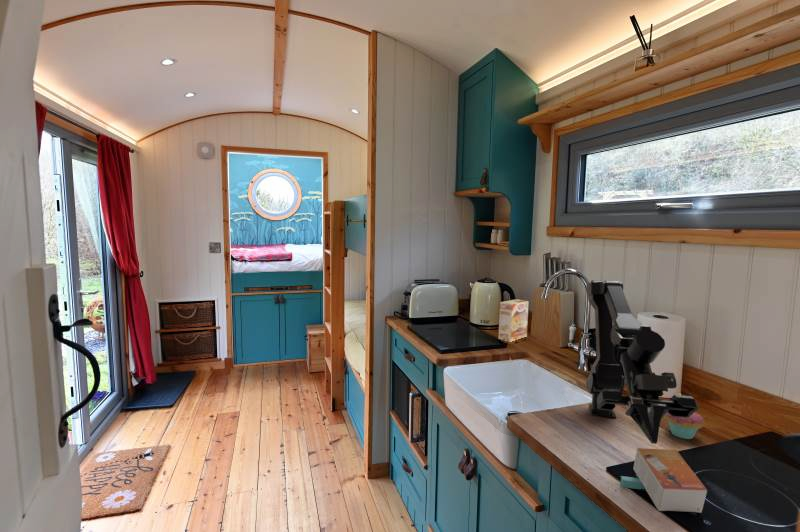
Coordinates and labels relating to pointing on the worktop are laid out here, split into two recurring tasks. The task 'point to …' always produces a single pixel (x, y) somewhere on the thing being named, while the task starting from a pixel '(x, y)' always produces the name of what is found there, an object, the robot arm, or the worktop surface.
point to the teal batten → (631, 483)
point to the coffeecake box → (513, 320)
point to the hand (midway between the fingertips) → (654, 443)
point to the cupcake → (684, 425)
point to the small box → (669, 480)
